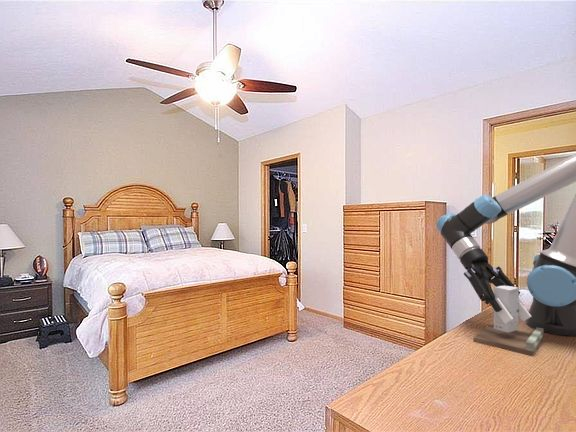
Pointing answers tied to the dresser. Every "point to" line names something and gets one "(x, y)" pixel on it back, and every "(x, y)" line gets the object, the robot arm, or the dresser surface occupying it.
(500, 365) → the dresser surface
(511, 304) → the skincare box
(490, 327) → the walnut board
